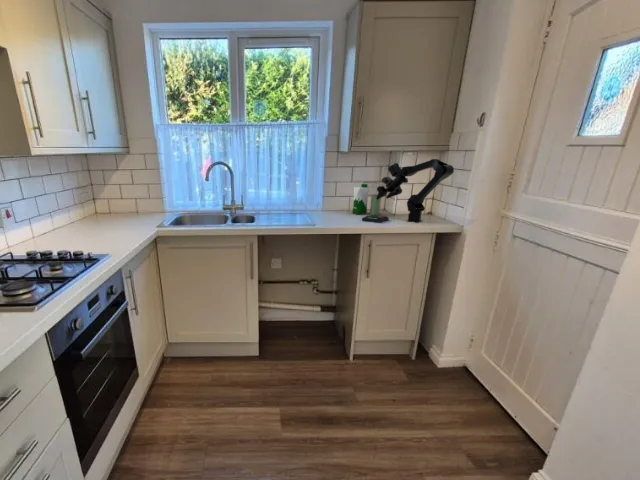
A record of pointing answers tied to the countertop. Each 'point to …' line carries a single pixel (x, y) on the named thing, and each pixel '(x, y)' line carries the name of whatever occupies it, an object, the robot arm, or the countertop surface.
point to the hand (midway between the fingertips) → (381, 198)
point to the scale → (375, 218)
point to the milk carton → (360, 199)
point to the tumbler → (375, 205)
